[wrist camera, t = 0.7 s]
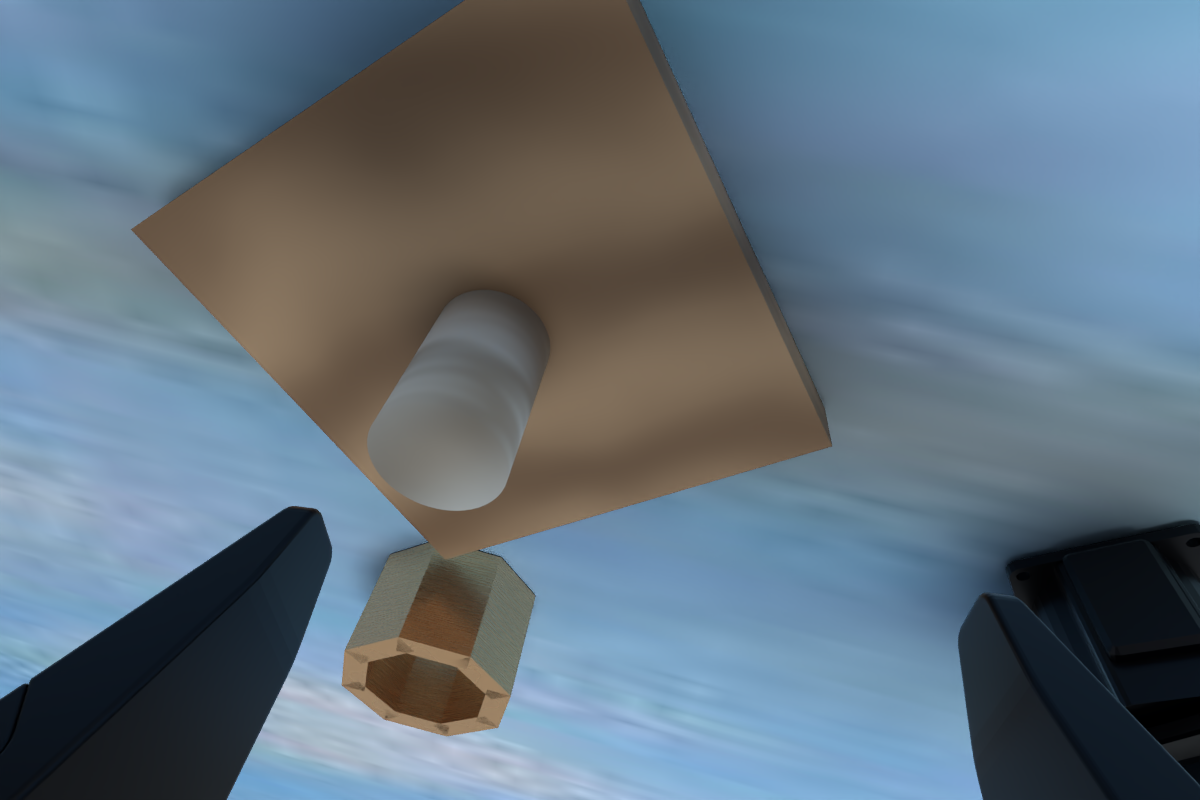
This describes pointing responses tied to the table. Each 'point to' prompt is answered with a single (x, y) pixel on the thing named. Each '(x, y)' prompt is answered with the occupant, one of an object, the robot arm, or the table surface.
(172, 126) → the table surface
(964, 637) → the robot arm
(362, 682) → the brown octagonal cup
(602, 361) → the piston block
